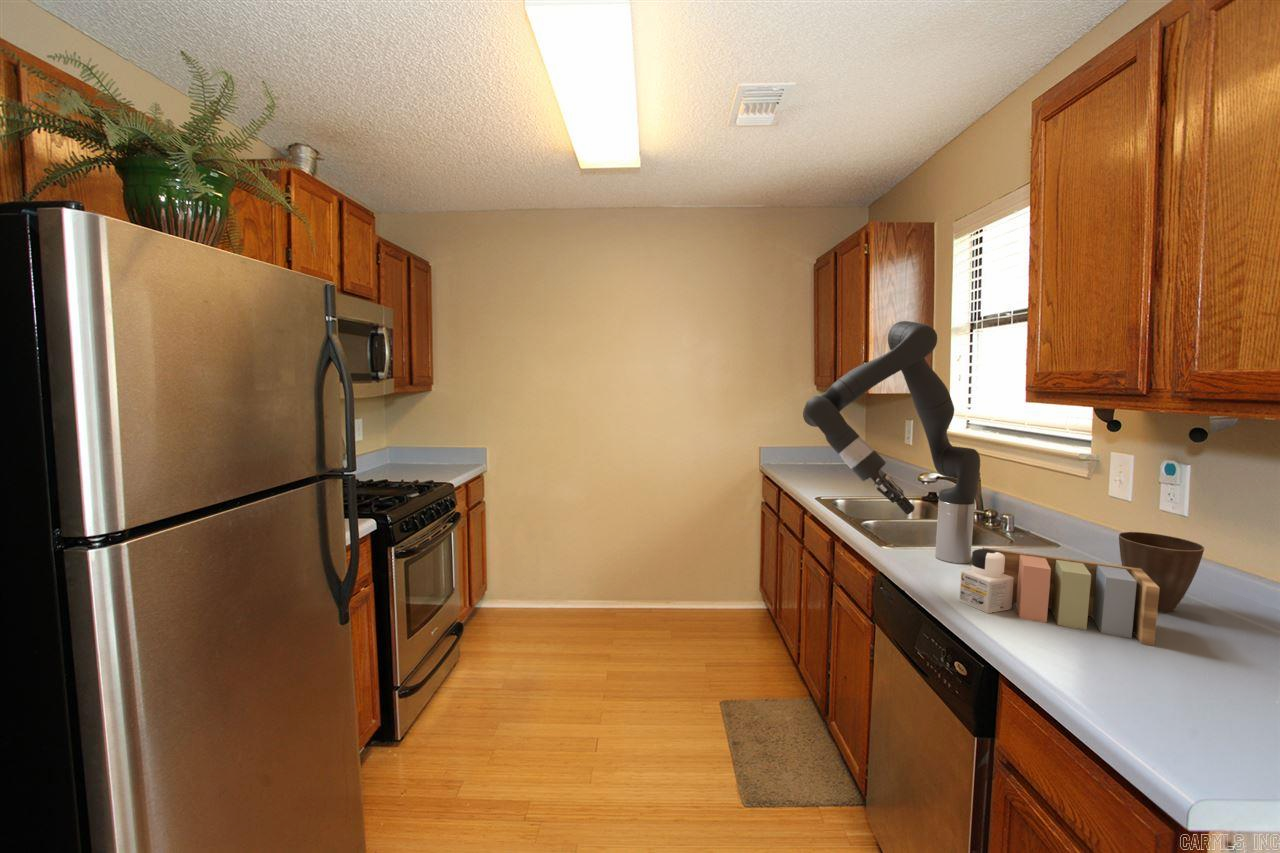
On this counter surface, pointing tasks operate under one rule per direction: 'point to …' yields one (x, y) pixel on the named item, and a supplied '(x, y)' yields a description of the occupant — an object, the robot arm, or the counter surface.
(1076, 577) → the book
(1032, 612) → the book
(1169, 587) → the plant pot
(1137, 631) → the wooden book rack
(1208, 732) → the counter surface
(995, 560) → the container
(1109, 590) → the book
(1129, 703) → the counter surface
